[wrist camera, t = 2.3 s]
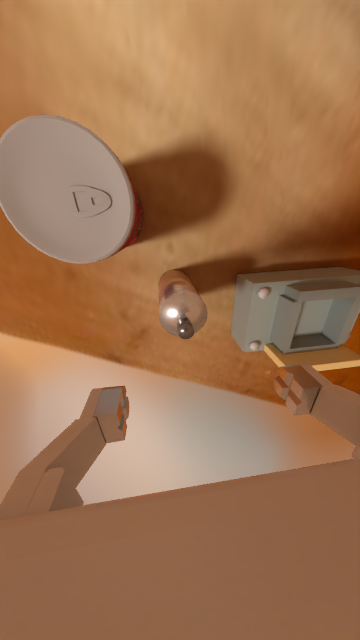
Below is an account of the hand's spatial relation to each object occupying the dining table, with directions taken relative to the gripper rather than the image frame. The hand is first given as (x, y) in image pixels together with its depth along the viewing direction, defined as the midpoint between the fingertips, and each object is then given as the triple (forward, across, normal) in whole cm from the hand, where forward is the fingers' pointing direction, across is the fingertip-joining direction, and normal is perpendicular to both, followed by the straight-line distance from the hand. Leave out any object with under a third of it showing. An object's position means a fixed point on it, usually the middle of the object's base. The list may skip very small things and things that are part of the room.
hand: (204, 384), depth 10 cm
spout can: (+18, 0, 0) cm, 18 cm away
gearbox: (+18, -17, +4) cm, 25 cm away
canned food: (+18, +7, -10) cm, 22 cm away
